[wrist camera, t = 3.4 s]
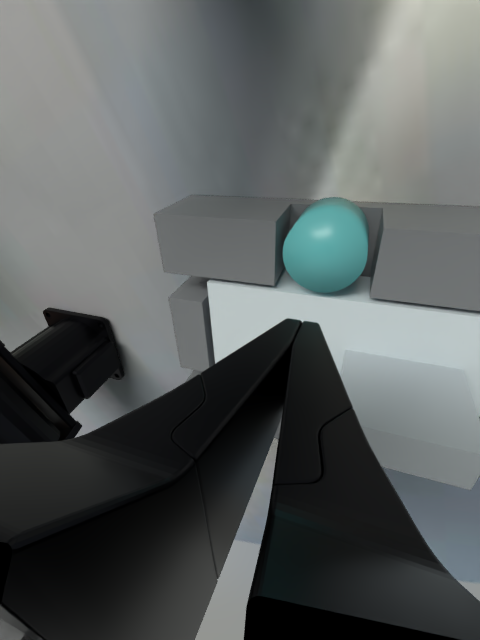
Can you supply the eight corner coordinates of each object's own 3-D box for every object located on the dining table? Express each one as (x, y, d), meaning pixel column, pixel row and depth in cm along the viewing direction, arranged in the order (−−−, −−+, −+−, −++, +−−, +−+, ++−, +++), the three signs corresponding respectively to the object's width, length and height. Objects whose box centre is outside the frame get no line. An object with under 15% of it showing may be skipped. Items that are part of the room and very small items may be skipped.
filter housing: (212, 377, 26) (189, 415, 23) (191, 194, 18) (153, 213, 15) (435, 427, 21) (446, 483, 18) (532, 208, 14) (578, 240, 11)
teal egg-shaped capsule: (293, 263, 17) (281, 287, 15) (297, 195, 15) (284, 211, 13) (362, 270, 16) (359, 297, 14) (375, 198, 14) (374, 216, 12)
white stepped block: (232, 361, 23) (184, 447, 17) (226, 261, 19) (160, 331, 13) (454, 406, 19) (487, 538, 13) (507, 291, 15) (589, 411, 9)
